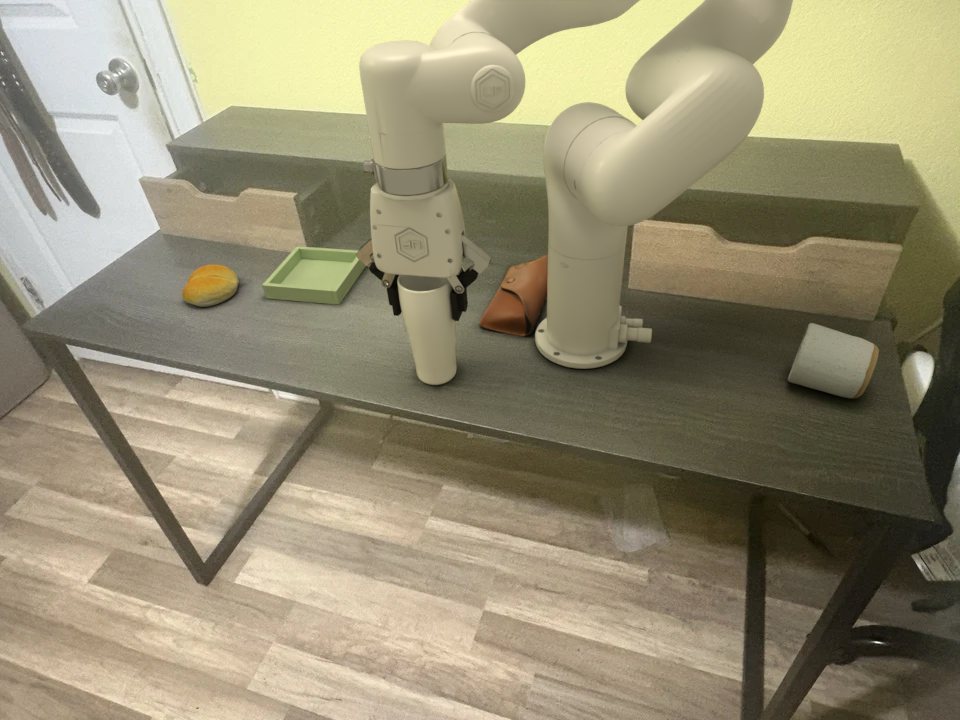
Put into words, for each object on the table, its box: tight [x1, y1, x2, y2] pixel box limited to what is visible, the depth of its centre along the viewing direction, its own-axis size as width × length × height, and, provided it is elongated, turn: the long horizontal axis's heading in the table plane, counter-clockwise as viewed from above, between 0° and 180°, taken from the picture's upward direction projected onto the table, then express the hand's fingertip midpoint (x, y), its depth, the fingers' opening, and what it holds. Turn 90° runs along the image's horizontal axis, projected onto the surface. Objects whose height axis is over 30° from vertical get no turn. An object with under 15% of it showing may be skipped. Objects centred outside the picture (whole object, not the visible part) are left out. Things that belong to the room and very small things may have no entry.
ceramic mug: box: [787, 322, 880, 399], centre depth 77 cm, size 11×8×8 cm
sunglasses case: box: [478, 253, 548, 338], centre depth 96 cm, size 18×7×7 cm, turn 163°
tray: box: [261, 245, 367, 306], centre depth 104 cm, size 13×13×2 cm
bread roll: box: [181, 263, 240, 307], centre depth 102 cm, size 8×9×4 cm
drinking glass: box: [397, 275, 457, 386], centre depth 79 cm, size 7×7×15 cm
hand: (429, 311), depth 78 cm, fingers closed on drinking glass, 6 cm apart
